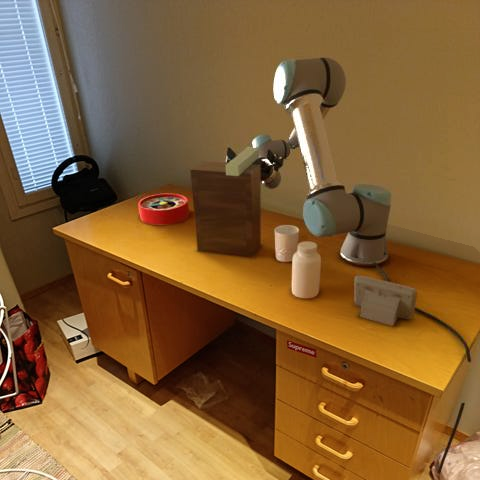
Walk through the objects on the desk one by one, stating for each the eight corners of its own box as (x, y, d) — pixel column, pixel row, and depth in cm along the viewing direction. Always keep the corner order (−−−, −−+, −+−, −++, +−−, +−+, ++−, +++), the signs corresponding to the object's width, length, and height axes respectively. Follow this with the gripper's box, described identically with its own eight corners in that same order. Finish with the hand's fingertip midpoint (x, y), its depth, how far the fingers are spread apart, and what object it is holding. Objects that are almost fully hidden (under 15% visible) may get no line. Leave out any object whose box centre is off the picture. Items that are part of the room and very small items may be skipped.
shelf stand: (252, 258, 150) (251, 173, 134) (197, 251, 156) (190, 169, 140) (260, 245, 158) (260, 164, 142) (208, 239, 163) (202, 161, 148)
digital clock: (416, 318, 118) (424, 283, 112) (400, 334, 113) (408, 298, 107) (361, 297, 127) (366, 264, 121) (344, 311, 122) (349, 276, 116)
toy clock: (192, 206, 176) (141, 213, 171) (193, 220, 179) (143, 227, 174) (182, 191, 192) (135, 196, 187) (183, 204, 195) (137, 210, 190)
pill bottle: (300, 282, 135) (303, 236, 127) (323, 290, 131) (328, 243, 123) (285, 293, 130) (287, 246, 122) (309, 302, 126) (312, 254, 118)
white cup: (296, 263, 146) (297, 235, 140) (272, 262, 147) (272, 233, 142) (298, 253, 152) (300, 225, 146) (275, 251, 154) (276, 224, 148)
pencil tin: (238, 176, 133) (238, 165, 131) (225, 175, 134) (225, 164, 132) (259, 156, 150) (259, 147, 148) (248, 156, 151) (247, 147, 149)
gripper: (295, 183, 162) (284, 167, 141) (230, 178, 169) (210, 162, 148) (298, 161, 161) (287, 142, 141) (233, 158, 168) (213, 139, 148)
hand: (248, 152), depth 144 cm, fingers open, 13 cm apart
